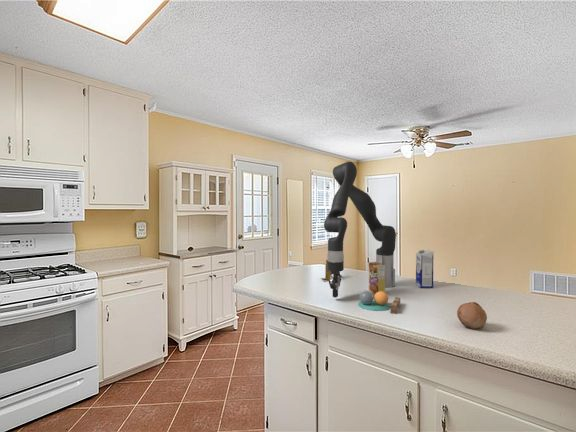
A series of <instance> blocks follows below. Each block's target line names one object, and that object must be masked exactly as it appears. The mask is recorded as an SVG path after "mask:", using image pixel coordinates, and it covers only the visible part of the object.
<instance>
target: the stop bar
mask: <svg viewBox="0 0 576 432" xmlns="http://www.w3.org/2000/svg"><path fill="white" fill-rule="evenodd" d="M390 306H391V308H390V314H394V315H395V314H397V312H398V310H399V308H400V307H401V297H397V296H395V298H394V300H393V301H392V303H391V304H390Z"/></svg>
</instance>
